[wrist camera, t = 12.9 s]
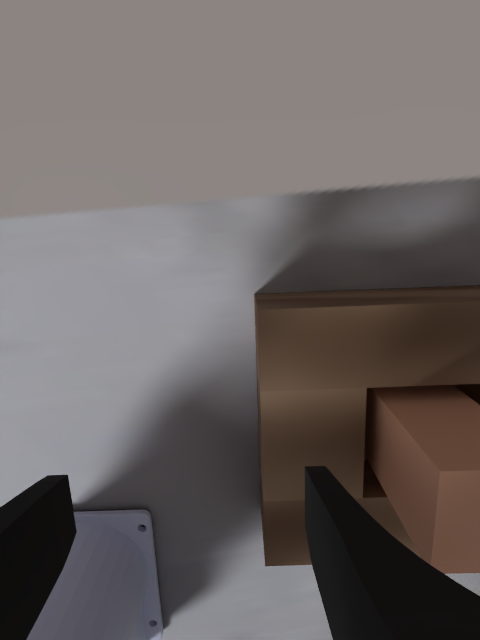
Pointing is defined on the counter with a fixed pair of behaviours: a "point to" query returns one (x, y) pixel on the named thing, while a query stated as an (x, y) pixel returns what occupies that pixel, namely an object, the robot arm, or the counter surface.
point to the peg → (429, 468)
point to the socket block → (347, 390)
